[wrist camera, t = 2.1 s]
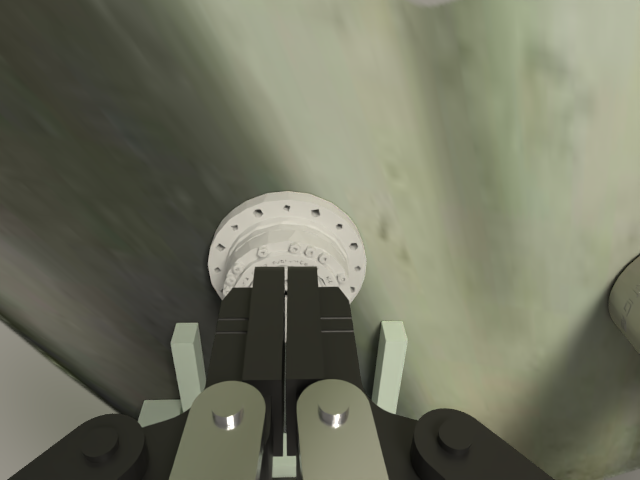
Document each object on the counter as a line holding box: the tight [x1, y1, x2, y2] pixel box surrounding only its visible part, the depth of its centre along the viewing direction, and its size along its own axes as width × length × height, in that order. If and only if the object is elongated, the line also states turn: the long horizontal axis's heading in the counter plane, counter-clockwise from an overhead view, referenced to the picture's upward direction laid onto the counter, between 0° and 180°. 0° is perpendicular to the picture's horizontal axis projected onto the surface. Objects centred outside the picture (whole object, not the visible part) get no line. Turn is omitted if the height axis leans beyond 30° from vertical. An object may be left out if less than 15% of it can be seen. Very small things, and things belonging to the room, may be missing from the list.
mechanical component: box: [208, 191, 367, 343], centre depth 30 cm, size 10×4×10 cm
